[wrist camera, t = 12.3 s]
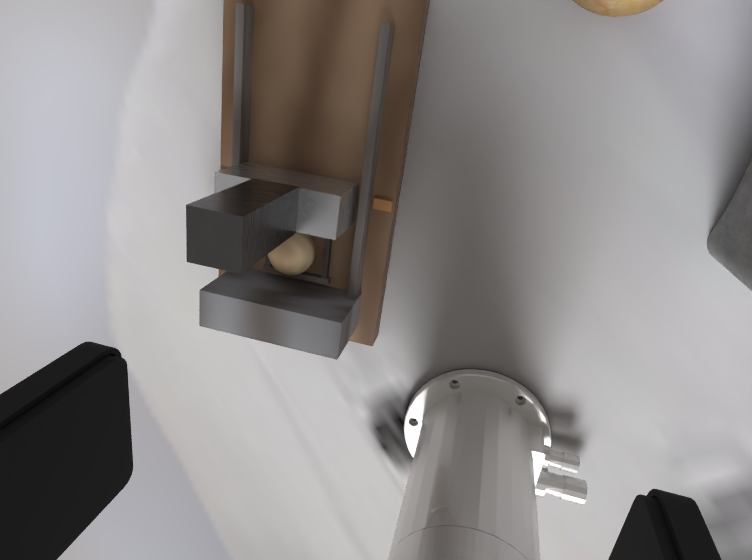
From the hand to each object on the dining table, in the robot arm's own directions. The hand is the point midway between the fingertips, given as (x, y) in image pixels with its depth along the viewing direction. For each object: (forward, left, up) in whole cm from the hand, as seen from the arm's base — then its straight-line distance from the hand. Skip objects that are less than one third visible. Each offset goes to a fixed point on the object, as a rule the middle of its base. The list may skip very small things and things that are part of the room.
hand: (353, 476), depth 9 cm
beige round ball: (+12, +8, -28) cm, 32 cm away
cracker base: (+12, +2, -32) cm, 35 cm away
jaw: (+12, +3, -29) cm, 32 cm away
